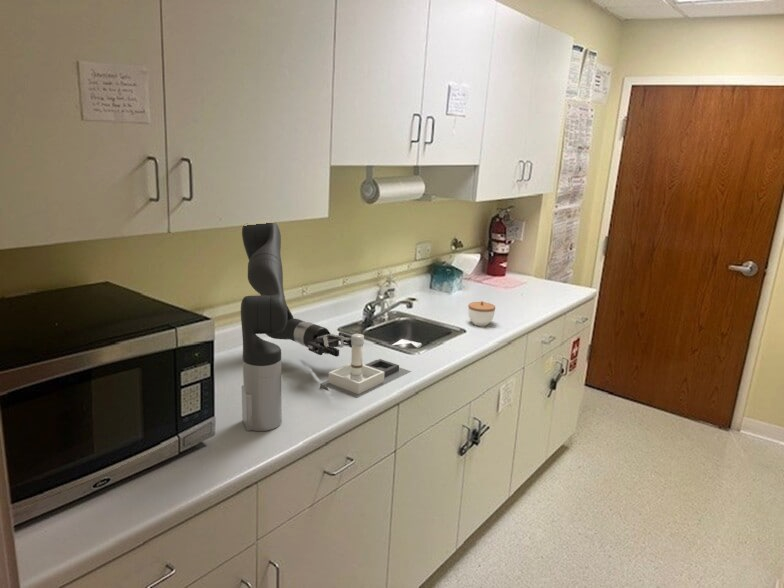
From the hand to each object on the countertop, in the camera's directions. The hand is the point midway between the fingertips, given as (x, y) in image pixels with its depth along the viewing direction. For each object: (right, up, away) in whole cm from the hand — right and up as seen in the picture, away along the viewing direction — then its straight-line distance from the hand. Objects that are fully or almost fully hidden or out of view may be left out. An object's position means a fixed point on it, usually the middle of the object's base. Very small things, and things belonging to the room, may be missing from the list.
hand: (348, 349), depth 171 cm
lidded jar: (+48, +4, +65) cm, 81 cm away
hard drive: (+17, -4, +33) cm, 37 cm away
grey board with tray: (+5, -10, +4) cm, 12 cm away
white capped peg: (+2, -9, 0) cm, 9 cm away
